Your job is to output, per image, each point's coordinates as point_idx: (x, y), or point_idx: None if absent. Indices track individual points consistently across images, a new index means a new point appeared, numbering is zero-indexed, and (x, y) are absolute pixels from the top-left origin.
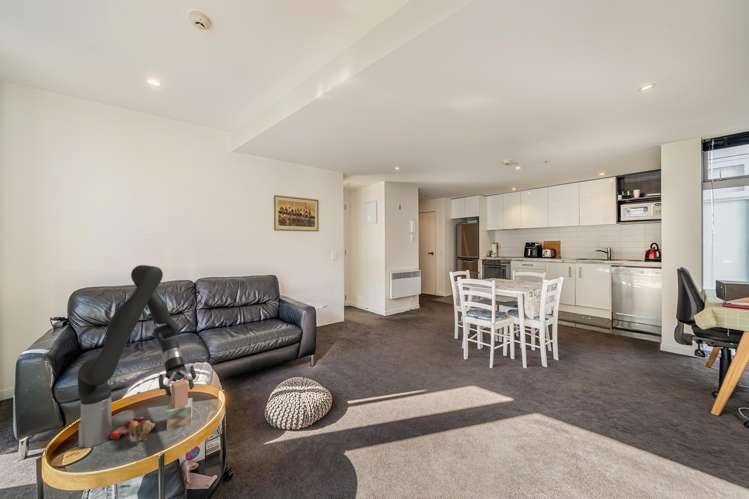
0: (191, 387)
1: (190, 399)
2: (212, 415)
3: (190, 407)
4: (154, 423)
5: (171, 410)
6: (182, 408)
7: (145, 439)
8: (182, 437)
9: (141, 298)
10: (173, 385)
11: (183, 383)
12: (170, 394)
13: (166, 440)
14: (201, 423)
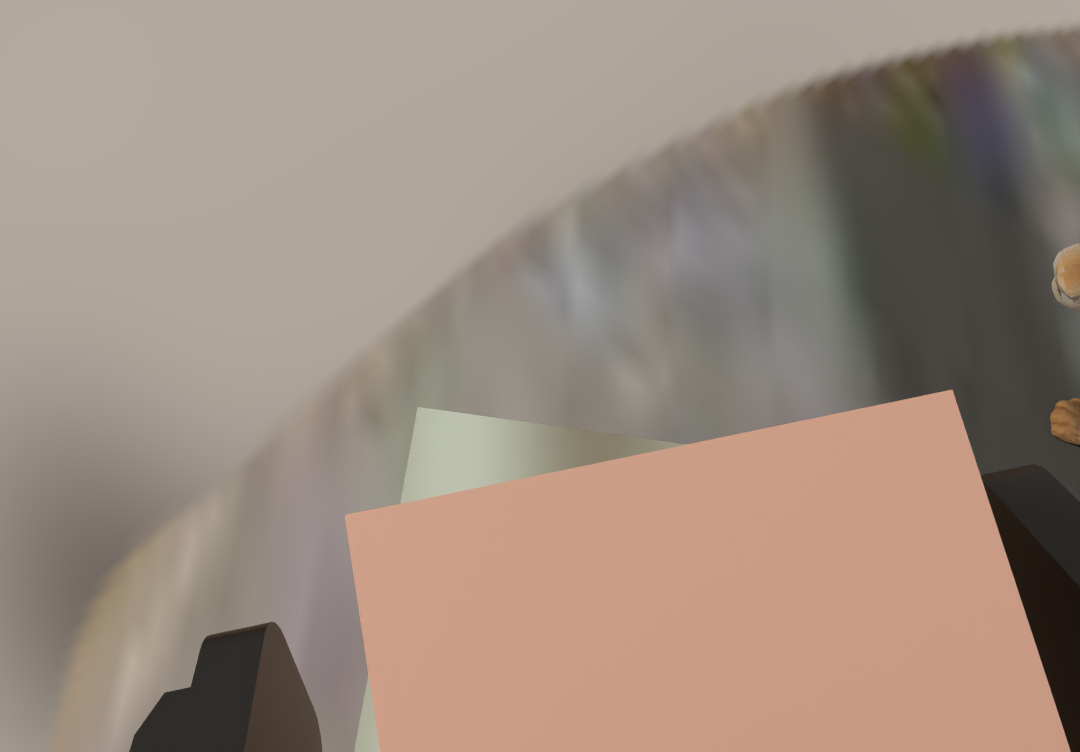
0: (261, 629)
1: None
2: (130, 555)
3: (432, 412)
4: (1067, 271)
5: None
6: (588, 435)
7: (1069, 401)
8: (600, 187)
9: None
10: (1027, 662)
11: (548, 538)
12: (990, 477)
13: (791, 238)
14: (326, 404)
